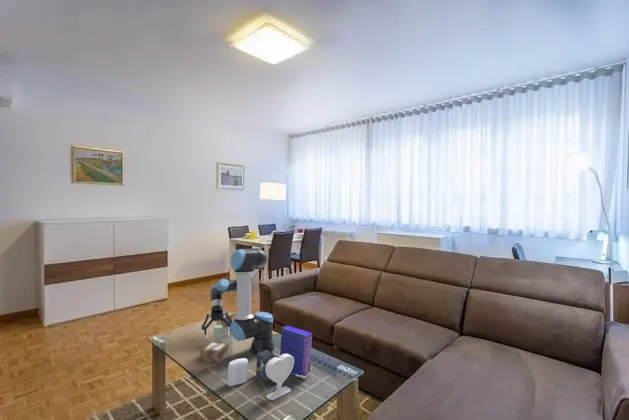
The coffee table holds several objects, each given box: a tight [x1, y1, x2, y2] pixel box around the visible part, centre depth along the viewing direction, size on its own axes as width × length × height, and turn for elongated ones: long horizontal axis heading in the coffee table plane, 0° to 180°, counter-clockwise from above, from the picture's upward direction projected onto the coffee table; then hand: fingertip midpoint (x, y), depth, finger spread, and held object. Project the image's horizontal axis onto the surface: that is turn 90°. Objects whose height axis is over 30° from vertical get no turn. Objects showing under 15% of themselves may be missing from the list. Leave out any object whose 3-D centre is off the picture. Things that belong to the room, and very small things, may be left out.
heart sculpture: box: [265, 354, 294, 401], centre depth 157 cm, size 16×5×18 cm, turn 135°
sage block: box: [212, 324, 224, 343], centre depth 205 cm, size 5×5×12 cm
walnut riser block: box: [200, 340, 230, 364], centre depth 190 cm, size 12×12×6 cm
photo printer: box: [227, 357, 249, 387], centre depth 164 cm, size 10×4×12 cm, turn 123°
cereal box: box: [279, 325, 313, 376], centre depth 176 cm, size 17×5×24 cm, turn 58°
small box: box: [255, 350, 280, 386], centre depth 170 cm, size 13×7×12 cm, turn 45°
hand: (218, 338), depth 203 cm, fingers open, 13 cm apart
